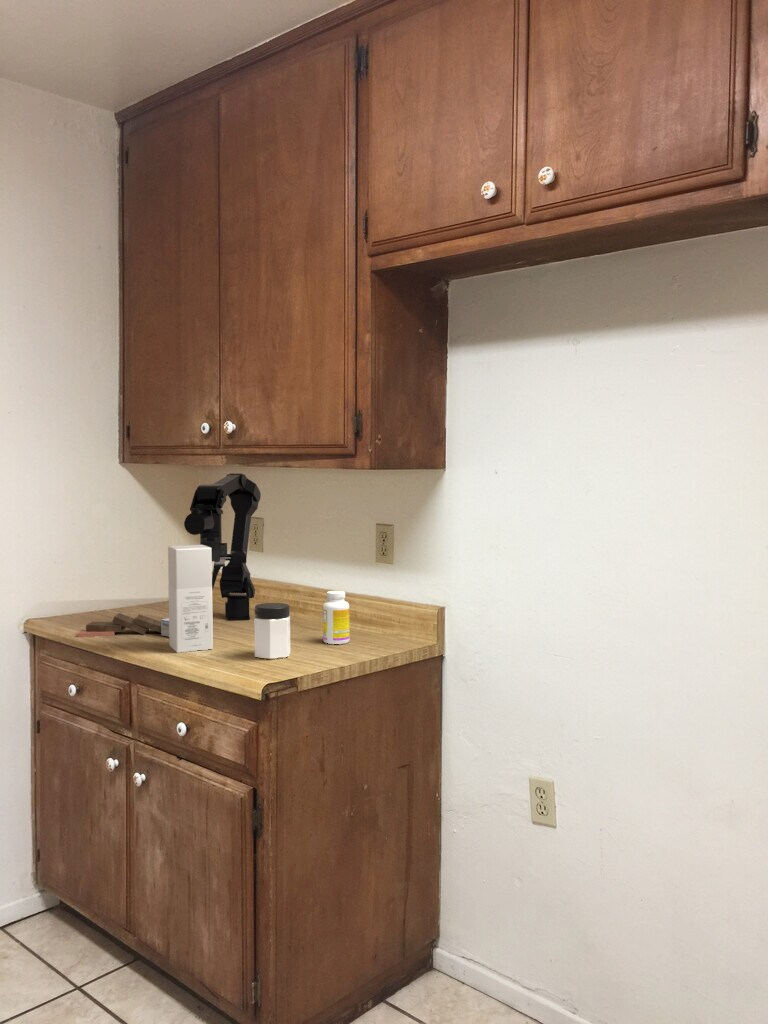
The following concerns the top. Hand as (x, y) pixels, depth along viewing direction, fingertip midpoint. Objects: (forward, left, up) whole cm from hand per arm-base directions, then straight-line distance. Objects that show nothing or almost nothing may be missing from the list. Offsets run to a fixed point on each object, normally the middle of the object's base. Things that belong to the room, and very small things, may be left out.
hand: (211, 589), depth 237 cm
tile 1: (+11, 0, -10) cm, 16 cm away
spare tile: (+25, 0, -11) cm, 28 cm away
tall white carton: (+5, +21, -11) cm, 24 cm away
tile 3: (+23, -1, -10) cm, 25 cm away
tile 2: (+17, -1, -10) cm, 20 cm away
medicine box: (+4, +2, -9) cm, 10 cm away
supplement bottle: (-31, +22, -11) cm, 39 cm away
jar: (-14, +34, -11) cm, 38 cm away
